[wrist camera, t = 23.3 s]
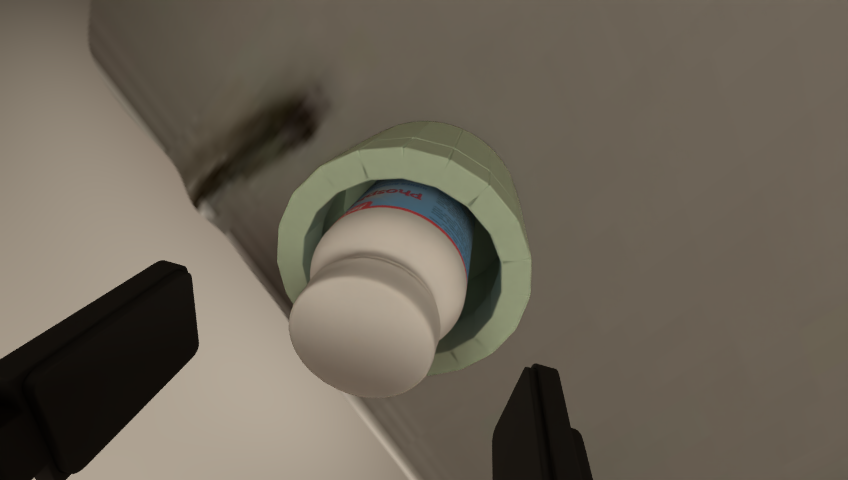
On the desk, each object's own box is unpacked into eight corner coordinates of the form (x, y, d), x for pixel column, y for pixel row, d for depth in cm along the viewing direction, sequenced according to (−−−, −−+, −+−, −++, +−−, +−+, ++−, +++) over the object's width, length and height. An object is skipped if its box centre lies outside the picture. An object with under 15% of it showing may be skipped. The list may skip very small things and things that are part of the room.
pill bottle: (428, 135, 19) (362, 209, 9) (496, 223, 21) (503, 370, 10) (349, 201, 21) (226, 317, 11) (415, 276, 23) (357, 438, 13)
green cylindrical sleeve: (353, 99, 20) (282, 115, 13) (545, 148, 19) (575, 191, 12) (333, 264, 24) (273, 338, 18) (487, 307, 24) (485, 401, 17)
